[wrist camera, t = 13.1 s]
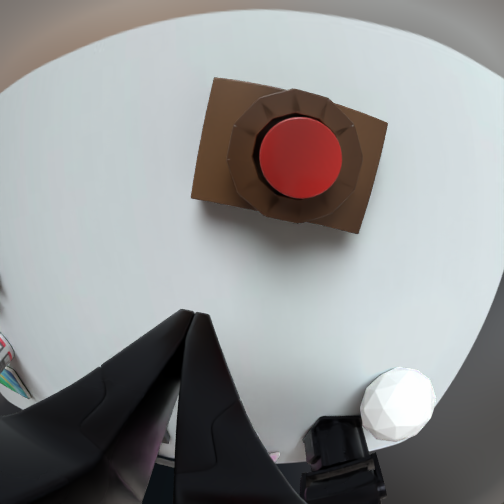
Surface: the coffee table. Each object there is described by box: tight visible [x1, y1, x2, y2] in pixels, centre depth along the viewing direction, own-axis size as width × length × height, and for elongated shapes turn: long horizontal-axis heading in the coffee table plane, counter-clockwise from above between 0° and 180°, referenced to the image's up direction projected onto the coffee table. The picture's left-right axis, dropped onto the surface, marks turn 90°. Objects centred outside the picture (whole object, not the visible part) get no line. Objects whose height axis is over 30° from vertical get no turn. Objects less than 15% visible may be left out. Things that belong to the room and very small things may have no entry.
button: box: [259, 117, 342, 199], centre depth 12 cm, size 4×4×2 cm
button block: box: [191, 77, 388, 234], centre depth 14 cm, size 10×7×4 cm
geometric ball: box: [360, 367, 436, 442], centre depth 20 cm, size 8×8×8 cm
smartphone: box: [0, 366, 31, 399], centre depth 28 cm, size 7×1×15 cm
